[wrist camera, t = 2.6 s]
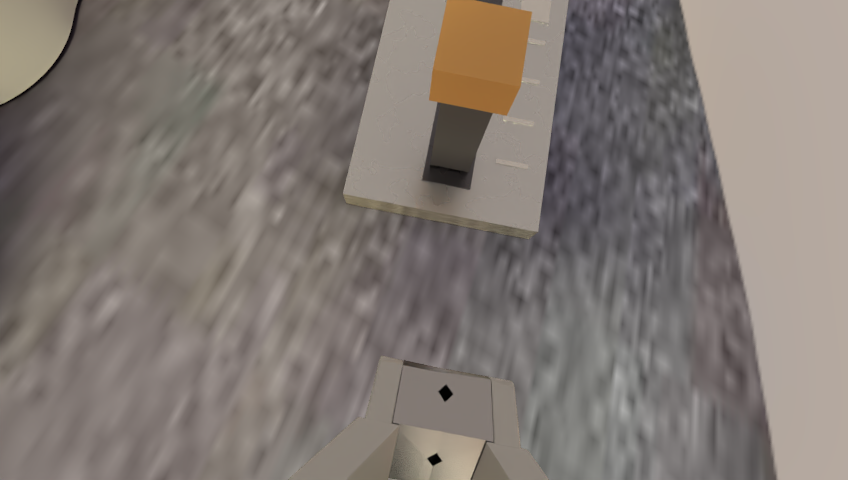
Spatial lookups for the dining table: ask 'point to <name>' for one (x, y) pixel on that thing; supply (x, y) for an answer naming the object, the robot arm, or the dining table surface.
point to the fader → (475, 75)
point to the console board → (417, 120)
